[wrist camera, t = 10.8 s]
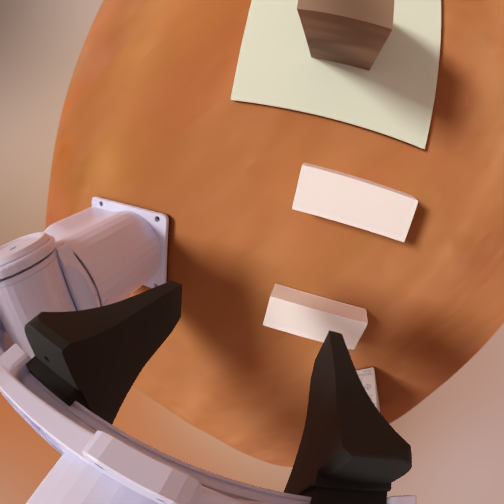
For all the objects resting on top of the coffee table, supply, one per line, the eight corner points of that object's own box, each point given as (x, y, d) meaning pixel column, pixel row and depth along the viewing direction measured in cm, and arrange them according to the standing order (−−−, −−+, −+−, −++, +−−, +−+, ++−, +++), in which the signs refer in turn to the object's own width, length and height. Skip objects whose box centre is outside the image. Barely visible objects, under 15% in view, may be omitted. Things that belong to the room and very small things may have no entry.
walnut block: (311, 57, 15) (296, 8, 8) (320, 2, 13) (309, -61, 6) (369, 70, 14) (392, 29, 7) (376, 14, 12) (394, -44, 5)
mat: (232, 100, 18) (230, 99, 18) (264, -42, 12) (263, -44, 11) (422, 149, 16) (424, 149, 15) (439, -4, 9) (440, -6, 9)
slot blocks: (268, 311, 24) (262, 325, 22) (304, 162, 18) (302, 164, 17) (353, 335, 23) (353, 350, 21) (410, 194, 17) (418, 201, 15)
